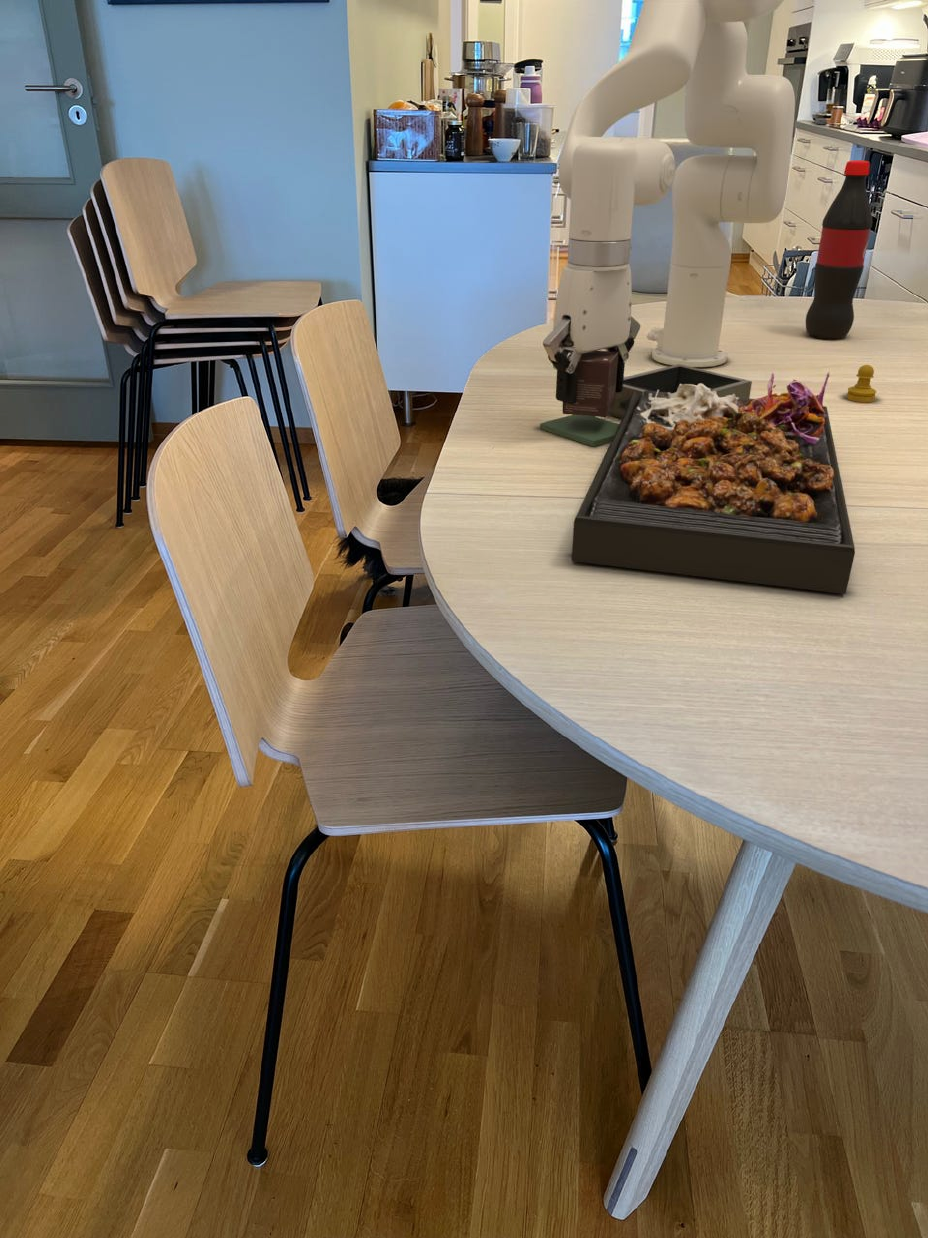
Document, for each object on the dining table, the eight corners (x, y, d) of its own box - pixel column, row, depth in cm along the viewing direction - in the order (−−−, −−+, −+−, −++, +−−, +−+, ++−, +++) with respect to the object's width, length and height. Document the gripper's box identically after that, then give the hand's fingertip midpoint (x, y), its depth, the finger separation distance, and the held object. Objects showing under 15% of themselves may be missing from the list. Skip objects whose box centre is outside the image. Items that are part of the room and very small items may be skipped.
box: (615, 406, 124) (620, 351, 120) (606, 419, 119) (611, 361, 115) (571, 402, 125) (574, 347, 122) (560, 414, 120) (563, 358, 117)
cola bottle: (851, 333, 177) (886, 159, 162) (848, 342, 170) (883, 161, 155) (805, 329, 180) (835, 158, 165) (800, 338, 173) (830, 160, 159)
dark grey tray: (603, 413, 131) (605, 381, 129) (675, 393, 140) (678, 363, 138) (675, 434, 122) (679, 401, 120) (747, 412, 131) (752, 381, 129)
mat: (539, 428, 125) (540, 423, 124) (581, 417, 129) (581, 412, 129) (593, 447, 118) (594, 441, 118) (635, 434, 122) (635, 428, 122)
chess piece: (876, 402, 135) (884, 368, 133) (848, 401, 136) (855, 367, 134) (871, 395, 139) (879, 362, 136) (844, 394, 139) (851, 361, 137)
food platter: (630, 424, 125) (637, 347, 120) (820, 440, 119) (836, 359, 114) (571, 560, 87) (578, 456, 82) (845, 594, 81) (870, 484, 76)
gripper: (623, 245, 120) (613, 379, 129) (525, 257, 110) (521, 401, 119) (668, 251, 115) (654, 390, 123) (570, 264, 105) (562, 414, 114)
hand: (589, 395), depth 121 cm, fingers closed on box, 8 cm apart
